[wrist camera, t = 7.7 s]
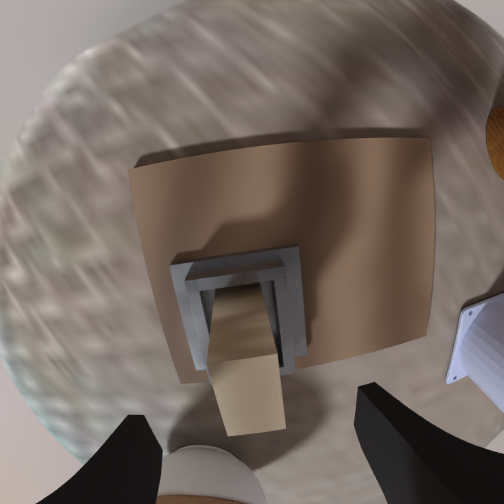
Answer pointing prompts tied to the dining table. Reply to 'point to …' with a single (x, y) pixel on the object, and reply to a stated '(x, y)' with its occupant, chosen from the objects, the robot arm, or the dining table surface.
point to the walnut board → (302, 234)
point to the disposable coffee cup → (496, 139)
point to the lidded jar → (207, 478)
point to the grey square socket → (240, 273)
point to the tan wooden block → (244, 362)
